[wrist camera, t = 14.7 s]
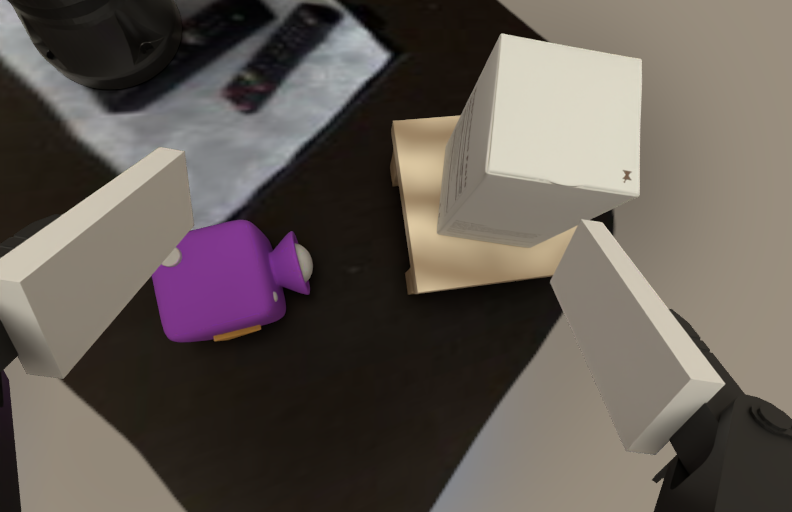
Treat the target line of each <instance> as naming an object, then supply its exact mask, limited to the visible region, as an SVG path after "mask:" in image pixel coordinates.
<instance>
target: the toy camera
mask: <svg viewBox="0 0 792 512" xmlns="http://www.w3.org/2000/svg"><path fill="white" fill-rule="evenodd" d="M312 271H313V263H312V258H311V256H310V254H309V252H308V251H307V250H306V249H305V248H304V247H303V246H301V245H299V244H298V241H297V239H296V236H295V234H294V232H293V231H291V232H289V233H288V234H287V235H286V236H285V237H284V238H283V239H282V241H281V242H280V243H279V244H278V246H277V247H276V248H275V249H274V250H273V249H272V246H271V244H270V242H269V240H268V239H267V237H266V236H265V235H264V234H263V233H262V232H261V231H260V230H259V229H258V228H257V227H256V226H255V225H254V224H253V223H251V222H249V221H247V220H235V221H230V222H225V223H221V224H217V225H213V226H208V227H204V228H200V229H196V230H192V231H189V232H188V233H187V234H186V236H185V237H184V238H183V239H182V240H181V241H180V243H179V244H178V245H177V246H176V247H175V248H174V250H173V251H172V252H171V253H170V254H169V255H168V257H167V258H166V259H165V260H164V261H163V263H162V264H161V265H160V266H159V267H158V268H157V270H156V271H155V272H154V273H153V274H152V279H153V284H154V289H155V294H156V298H157V303H158V308H159V313H160V318H161V322H162V326H163V329H164V332H165V334H166V336H167V337H168V338H169V339H170V340H172V341H175V342H194V341H205V340H212V339H214V341H223V340H230V339H233V338H236V337H240V336H243V335H246V334H249V333H252V332H255V331H258V330H261V326H263V325H266V324H269V323H272V322H275V321H277V320H279V319H281V318H282V317H283V316H284V315H285V312H286V302H285V297H284V292H283V288H282V287H285V288H288V289H290V290H293V291H296V292H299V293H302V294H306V295H309V294H310V286H309V281H308V280H309V278H310V277H311V274H312Z"/></svg>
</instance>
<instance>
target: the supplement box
mask: <svg viewBox="0 0 792 512" xmlns="http://www.w3.org/2000/svg"><path fill="white" fill-rule="evenodd" d="M641 92H642V60H641V59H637V58H631V57H626V56H620V55H615V54H609V53H604V52H598V51H592V50H587V49H581V48H575V47H570V46H564V45H559V44H554V43H549V42H543V41H538V40H532V39H527V38H522V37H517V36H511V35H506V34H501V35H500V36H499V39H498V40H497V42H496V45H495V47H494V49H493V51H492V53H491V55H490V57H489V59H488V61H487V63H486V65H485V67H484V69H483V71H482V73H481V75H480V77H479V79H478V81H477V83H476V86H475V88H474V90H473V92H472V94H471V96H470V98H469V100H468V102H467V104H466V106H465V108H464V110H463V112H462V114H461V116H460V118H459V120H458V122H457V124H456V126H455V128H454V130H453V133H452V135H451V137H450V139H449V141H448V142H447V144H446V148H445V156H444V166H443V175H442V184H441V194H440V203H439V213H438V222H437V234H439V235H445V236H452V237H458V238H465V239H472V240H479V241H485V242H492V243H499V244H506V245H512V246H519V247H527V248H531V247H533V246H535V245H537V244H539V243H541V242H544V241H546V240H548V239H550V238H552V237H554V236H556V235H558V234H561V233H563V232H565V231H567V230H569V229H571V228H573V227H575V226H577V225H578V224H579V222H580V220H581V219H584V220H590V219H592V218H594V217H596V216H598V215H601V214H603V213H605V212H607V211H609V210H611V209H613V208H615V207H617V206H619V205H622V204H624V203H626V202H628V201H630V200H632V199H634V198H636V197H638V196H639V191H640V182H639V180H640V177H639V175H640V169H639V168H640V114H641Z"/></svg>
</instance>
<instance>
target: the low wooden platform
mask: <svg viewBox="0 0 792 512" xmlns="http://www.w3.org/2000/svg"><path fill="white" fill-rule="evenodd" d="M459 118H460V116H449V117H436V118H424V119H411V120H399V121H393V124H392V129H391V134H392V141H393V148H394V151H393V155H392V160H391V164H390V171H391V178H392V185H393V186H399V189H400V196H401V203H402V210H403V217H404V224H405V231H406V238H407V245H408V252H409V259H410V266H411V268H410V269H409V270H408V271H407V272H406V273H405V277H406V284H407V291H408V295H410V294H421V293H429V292H436V291H444V290H452V289H459V288H467V287H474V286H482V285H489V284H497V283H505V282H512V281H520V280H527V279H535V278H542V277H550V276H553V275H554V273H555V271H556V269H557V267H558V265H559V263H560V261H561V258H562V256H563V254H564V252H565V250H566V248H567V246H568V244H569V242H570V240H571V238H572V236H573V234H574V232H575V230H576V228H577V226H578V225H577V226H575V227H573V228H571V229H569V230H567V231H565V232H563V233H561V234H558V235H556V236H554V237H552V238H550V239H548V240H546V241H544V242H541V243H539V244H537V245H535V246H533V247H531V248H527V247H519V246H512V245H506V244H499V243H492V242H485V241H479V240H472V239H465V238H458V237H452V236H445V235H439V234H437V222H438V213H439V203H440V194H441V184H442V175H443V166H444V156H445V148H446V144H447V142H448V141H449V139H450V137H451V135H452V133H453V130H454V128H455V126H456V124H457V122H458V120H459Z"/></svg>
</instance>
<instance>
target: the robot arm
mask: <svg viewBox="0 0 792 512" xmlns="http://www.w3.org/2000/svg"><path fill="white" fill-rule="evenodd" d="M8 1H9V2H10V3H11V4H12V6H13V8H14V10H15V11H16V13H17V15H18V17H19V19H20V20H21V22H22V24H23V26H24V28H25V29H26V31H27V33H28V35H29V37H30V38H31V40H32V42H33V44H34V45H35V47H36V48H37V50H38V51H39V52H40V54H41V55H42V56H43V57H44V58H45V59H46V60H47V61H48V62H49V63H50V64H52V65H53V66H54V67H55V68H56V69H57V70H58V71H60V72H61V73H62V74H63V75H65V76H66V77H67V78H69V79H71V80H73V81H74V82H77V83H79V84H81V85H84V86H87V87H91V88H97V89H107V90H112V89H123V88H128V87H132V86H135V85H138V84H141V83H143V82H145V81H147V80H149V79H151V78H153V77H154V76H156V75H157V74H158V73H160V72H161V71H162V70H163V69H164V68H165V67H166V66H167V65H168V64H169V63H170V62H171V60H172V59H173V57H174V56H175V54H176V52H177V50H178V48H179V45H180V42H181V37H182V21H181V16H180V13H179V10H178V8H177V6H176V4H175V2H174V0H8ZM193 226H194V222H193V214H192V206H191V198H190V190H189V183H188V175H187V167H186V159H185V151H180V150H174V149H168V148H162V147H159V148H157V149H156V150H155V151H153V152H152V153H150V154H149V155H147V156H146V157H145V158H143V159H142V160H140V161H139V162H137V163H136V164H135V165H133V166H132V167H130V168H129V169H127V170H126V171H125V172H123V173H122V174H120V175H119V176H117V177H116V178H115V179H113V180H112V181H110V182H109V183H107V184H106V185H105V186H103V187H102V188H100V189H99V190H97V191H96V192H95V193H93V194H92V195H90V196H89V197H87V198H86V199H85V200H83V201H82V202H80V203H79V204H77V205H76V206H75V207H73V208H72V209H70V210H69V211H67V212H66V213H65V214H63V215H58V214H55V215H52V216H49V217H47V218H44V219H41V220H38V221H36V222H33V223H31V224H29V225H28V226H26V227H25V228H23V229H22V230H20V231H19V232H17V233H16V234H14V237H13V238H12V237H10V238H8V239H7V240H5V241H4V242H2V243H1V244H0V512H21V504H20V493H19V482H18V472H17V461H16V451H15V440H14V429H13V419H12V408H11V398H10V387H9V379H8V378H7V376H6V374H5V372H4V369H5V367H6V366H8V365H9V364H10V363H11V362H12V361H13V360H14V359H15V358H16V357H17V356H18V358H19V360H20V362H21V364H22V366H23V368H24V370H25V371H26V373H27V374H30V375H38V376H46V377H54V378H61V379H64V377H65V376H66V375H67V374H68V373H69V372H70V370H71V369H72V368H73V367H74V366H75V365H76V363H77V362H78V361H79V360H80V359H81V358H82V356H83V355H84V354H85V353H86V352H87V350H88V349H89V348H90V347H91V346H92V345H93V343H94V342H95V341H96V340H97V339H98V338H99V336H100V335H101V334H102V333H103V332H104V331H105V329H106V328H107V327H108V326H109V325H110V324H111V322H112V321H113V320H114V319H115V318H116V316H117V315H118V314H119V313H120V312H121V311H122V309H123V308H124V307H125V306H126V305H127V304H128V302H129V301H130V300H131V299H132V298H133V297H134V295H135V294H136V293H137V292H138V291H139V289H140V288H141V287H142V286H143V285H144V284H145V282H146V281H147V280H148V279H149V278H150V277H151V275H152V274H153V273H154V272H155V271H156V270H157V268H158V267H159V266H160V265H161V264H162V263H163V261H164V260H165V259H166V258H167V257H168V255H169V254H170V253H171V252H172V251H173V250H174V248H175V247H176V246H177V245H178V244H179V243H180V241H181V240H182V239H183V238H184V237H185V236H186V234H187V233H188V232H189V231H190V230H191V229H192V227H193ZM550 283H551V285H552V288H553V290H554V292H555V294H556V296H557V299H558V301H559V303H560V305H561V308H562V310H563V312H564V314H565V317H566V319H567V321H568V323H569V325H570V328H571V330H572V332H573V334H574V337H575V339H576V341H577V343H578V346H579V348H580V350H581V352H582V354H583V357H584V359H585V361H586V363H587V366H588V368H589V370H590V372H591V375H592V377H593V379H594V381H595V384H596V386H597V388H598V390H599V392H600V395H601V397H602V399H603V401H604V404H605V406H606V408H607V410H608V412H609V415H610V417H611V419H612V421H613V424H614V426H615V428H616V430H617V433H618V435H619V437H620V439H621V442H622V443H623V446H624V448H625V450H626V451H629V452H636V453H644V454H653V455H656V454H657V453H658V452H659V451H660V450H661V449H662V448H663V447H664V446H665V445H666V444H667V443H668V442H669V441H670V442H671V444H672V446H673V448H674V449H675V451H676V453H677V455H676V456H675V457H674V458H673V459H672V460H671V461H670V462H669V463H668V464H667V465H666V466H665V467H664V468H663V469H662V470H661V471H660V472H659V473H658V474H656V476H655V477H654V478H653V479H652V480H653V481H654V482H656V483H657V482H659V481H660V480H661V479H662V478H664V481H663V484H662V487H661V490H660V494H659V497H658V500H657V503H656V506H655V510H654V512H792V419H791V418H790V417H789V416H788V415H786V413H784V412H783V411H781V410H780V409H778V408H777V407H775V406H774V405H772V404H771V403H769V402H767V401H764V400H762V399H760V398H758V397H753V396H749V395H745V394H744V392H743V391H742V390H741V389H740V387H739V386H738V385H737V383H736V382H735V381H734V380H733V378H732V377H731V376H730V375H729V373H728V372H727V371H726V370H725V368H724V367H723V366H722V364H721V363H720V362H719V361H718V359H717V358H716V357H715V356H714V354H713V353H710V349H709V348H708V347H707V346H706V344H705V343H704V342H703V341H701V340H700V337H699V335H698V334H697V333H696V332H695V331H694V329H693V328H692V327H691V325H690V324H689V323H688V322H687V321H686V320H684V319H683V318H682V317H681V316H680V315H678V314H677V313H676V312H674V311H673V310H672V309H668V308H667V307H666V305H665V304H664V303H663V301H662V300H661V299H660V297H659V296H658V295H657V293H656V292H655V291H654V290H653V288H652V287H651V286H650V285H649V283H648V282H647V280H646V279H645V278H644V276H643V275H642V274H641V273H640V271H639V270H638V269H637V267H636V266H635V265H634V263H633V262H632V261H631V259H630V258H629V257H628V256H627V254H626V253H625V252H624V250H623V249H622V248H621V246H620V245H619V244H618V242H617V241H616V240H615V238H614V237H613V236H612V234H611V233H610V232H609V231H608V229H607V228H606V227H605V225H604V224H603V223H602V222H596V221H590V220H584V219H581V220H580V222H579V224H578V226H577V228H576V230H575V232H574V234H573V236H572V238H571V240H570V242H569V244H568V246H567V248H566V250H565V252H564V254H563V256H562V258H561V261H560V263H559V265H558V267H557V269H556V271H555V273H554V275H553V277H552V279H551V281H550Z"/></svg>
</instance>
